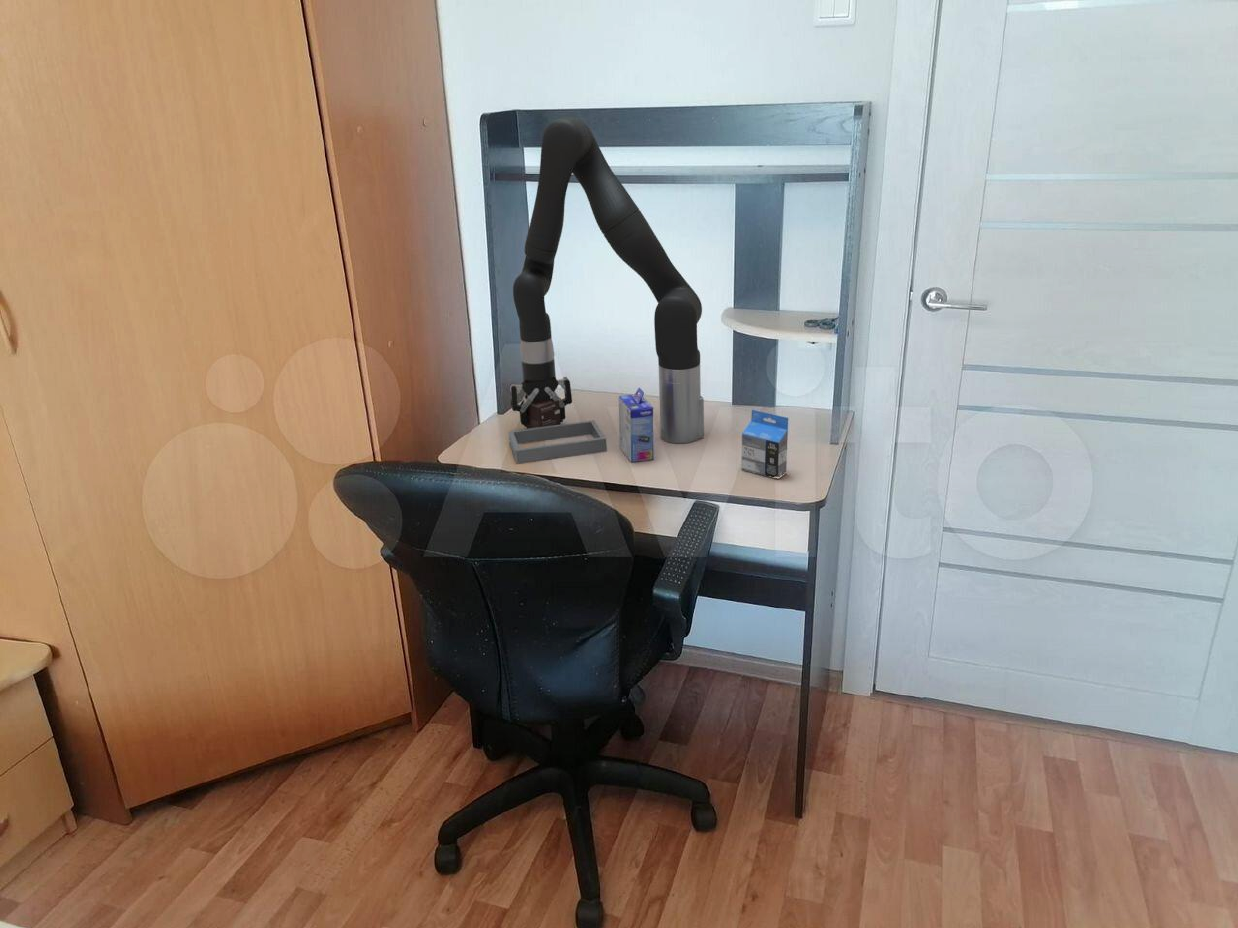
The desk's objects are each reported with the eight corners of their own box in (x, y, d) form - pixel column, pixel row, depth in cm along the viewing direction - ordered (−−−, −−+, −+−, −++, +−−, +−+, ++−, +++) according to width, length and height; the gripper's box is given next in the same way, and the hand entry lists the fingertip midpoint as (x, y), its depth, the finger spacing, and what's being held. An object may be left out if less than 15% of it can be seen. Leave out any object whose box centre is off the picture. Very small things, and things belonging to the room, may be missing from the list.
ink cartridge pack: (740, 470, 188) (740, 414, 183) (750, 463, 191) (751, 409, 186) (777, 480, 183) (779, 423, 178) (787, 473, 186) (789, 417, 181)
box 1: (541, 437, 210) (538, 407, 207) (526, 430, 214) (523, 401, 211) (561, 429, 214) (559, 400, 211) (546, 423, 218) (544, 394, 215)
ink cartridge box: (655, 460, 195) (653, 396, 189) (631, 463, 194) (628, 400, 188) (642, 443, 204) (640, 382, 198) (618, 447, 203) (615, 385, 197)
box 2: (594, 431, 211) (593, 419, 210) (606, 451, 201) (606, 438, 200) (509, 443, 207) (508, 431, 206) (517, 463, 197) (516, 451, 195)
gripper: (565, 349, 212) (569, 414, 218) (504, 356, 209) (510, 422, 215) (571, 358, 205) (576, 425, 212) (508, 365, 202) (515, 433, 209)
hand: (543, 423), depth 213 cm, fingers closed on box 1, 8 cm apart
